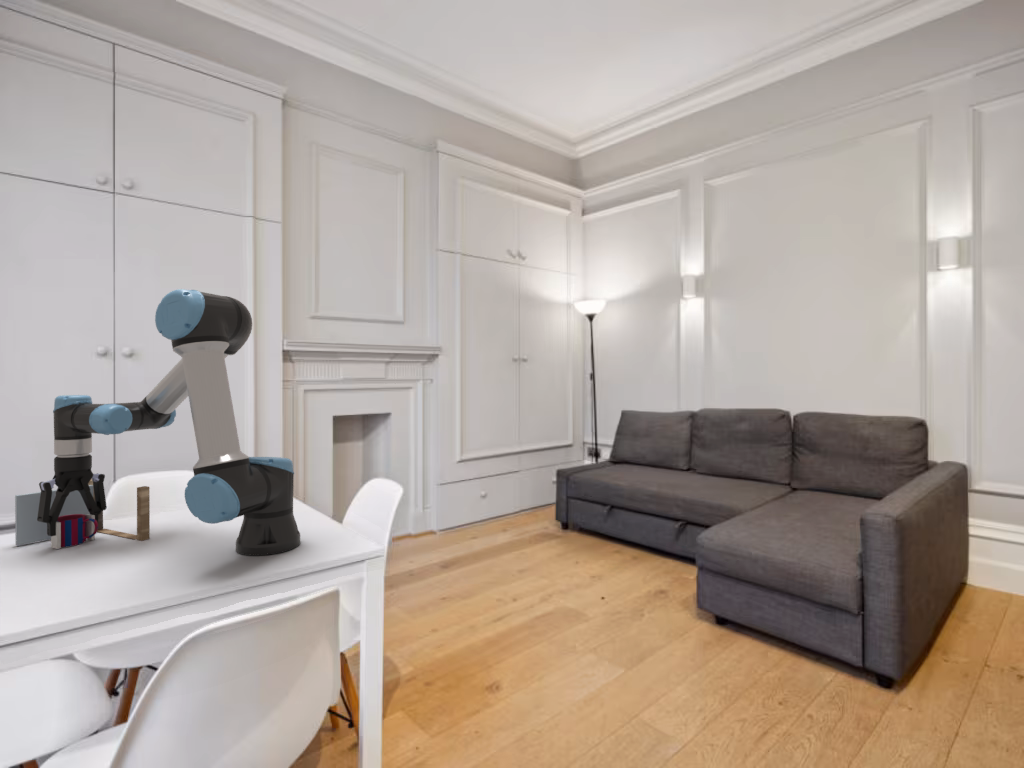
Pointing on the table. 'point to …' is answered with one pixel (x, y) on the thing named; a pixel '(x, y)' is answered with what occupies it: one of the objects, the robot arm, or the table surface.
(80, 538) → the mug
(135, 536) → the doorframe
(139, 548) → the table surface
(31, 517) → the door
